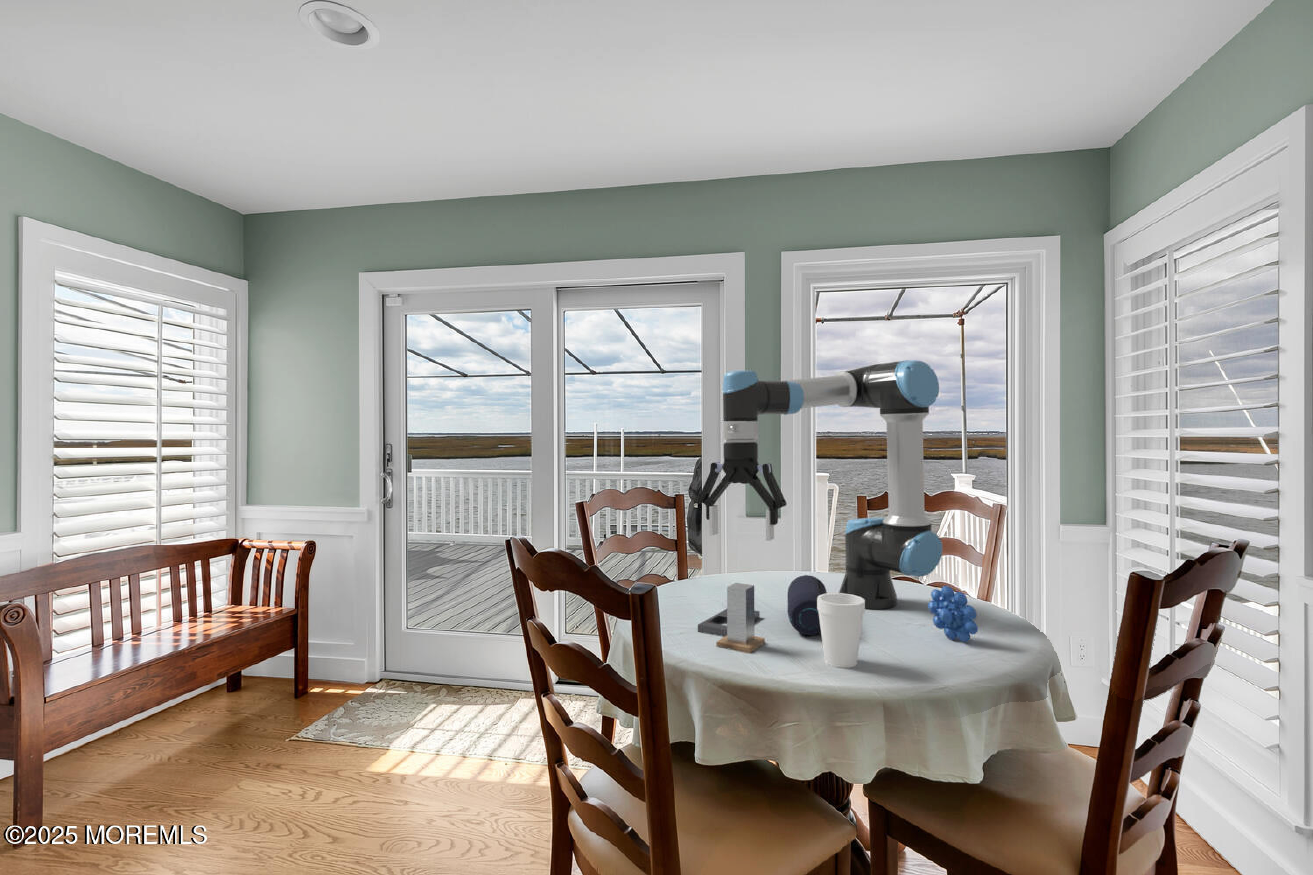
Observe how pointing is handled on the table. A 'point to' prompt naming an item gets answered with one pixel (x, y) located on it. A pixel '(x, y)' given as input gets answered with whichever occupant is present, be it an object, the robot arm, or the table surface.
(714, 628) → the dark grey slotted board
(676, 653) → the table surface
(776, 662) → the table surface
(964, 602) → the grapes
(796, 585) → the portable speaker
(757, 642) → the pad
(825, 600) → the foam cup
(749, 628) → the tall grey prism
